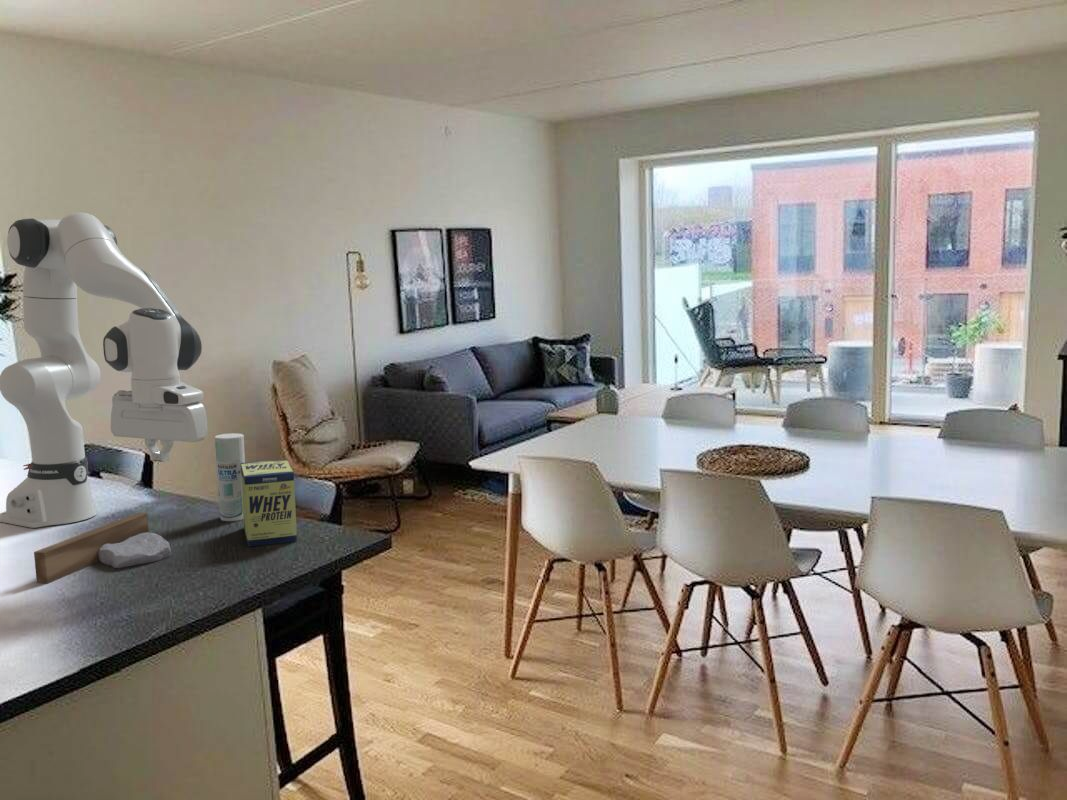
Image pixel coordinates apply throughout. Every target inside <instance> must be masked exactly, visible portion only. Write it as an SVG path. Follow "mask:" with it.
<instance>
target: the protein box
mask: <svg viewBox="0 0 1067 800" xmlns="http://www.w3.org/2000/svg"><path fill="white" fill-rule="evenodd" d="M240 465H241V483H242V502H243V518H244V519H243V528H244V535H245V539H246V543H247V544H246V545H247V547H249V548H250V547H257V546H267V545H275V544H286V543H294V542H298V540H297V538H298V537H297V536H298V535H297V534H298V533H297V532H298V531H297V518H296V517H297V513H296V512H297V511H296V495H295V494H296V492H295V472H294V471H293V468H292V467H291V465H290V463H289V461H288V460H287V459H275V460H262V461H248V462H246V461H245V463H241V464H240Z"/></svg>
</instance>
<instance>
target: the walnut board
mask: <svg viewBox="0 0 1067 800" xmlns="http://www.w3.org/2000/svg"><path fill="white" fill-rule="evenodd" d="M148 515H149V514H148V513H147V512H135V513H133V514H130V515H128V516H125V517H122V518H120V519H117V520H115V521H113V522H109V523H107V524H104V525H102V526H98V527H96V528H94V529H90V530H88V531H85V532H83V533H80V534H77V535H75V536H72V537H70V538H68V539H67V538H66V539H64V540H62V541H59V542H57V543H54V544H51V545H49V546H46V547H43V548H41V549H38V550H35V551H34V552H33V557H34V569H35V577H36V583H39V584H50V583H52V582H55V581H57V580H58V579H59V580H60V579H61V578H63V577H67V576H68V575H71V574H74V573H77V571H79V570H82V569H85V568H87V567H89V566H92V565H94V564H97V563H99V562H100V560H99V557H98V553H99V550H100V548H101V547H102V546H103V545H104V544H107V543H108V544H116V543H121V542H123V541H125V540H127V539H128V538H130V537H133V536H136V535H138V534H141V533H150V531H149V517H148Z"/></svg>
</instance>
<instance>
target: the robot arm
mask: <svg viewBox="0 0 1067 800" xmlns="http://www.w3.org/2000/svg"><path fill="white" fill-rule="evenodd" d="M6 245H7V249H8V253H9V257H11V259H12V260H13V261H14V262H15V263H16V264H17V265H20V266H23V267H24V272H23V273H24V274H23V282H22V308H23V328H24V330H25V332H26V334H28V335H29V336H30V337H32V338H33V339H35V342H36V343H37V345H38V347H39V352H40V357H33V358H25V359H22V360H20V361H17V362H15V363H12V364H10V365H8V366H6V367H5V368H4V369H3V370H2V371H1V373H0V394H1V395H2V397H3V398H4V399H5V400H6V401H7V402H8V403H9V404H10V405H12V406H14V407H15V408H16V409H17V411H19V413H20V415H21V416H22V418H23V420H24V422H25V424H26V427H27V431H28V434H29V435H28V436H29V443H30V450H31V458H32V459H31V460H32V461H31V463H26V464H24V465H22V466H23V467H25V468H23V470H24V471H26V470H28V471H27V475H26V476H27V477H25V479H23V481H21V482H20V483H19V484H18V485H17V486H16V487H14V488H13V489H12V490H11V491H9V492H8V494H7V496H6V500H5V501H6V502H5V511H3V512H1V513H0V522H1V523H7V524H11V525H15V526H20V527H26V528H32V529H34V528H35V529H36V528H41V527H48V526H55V525H56V526H58V525H65V524H71V523H76V522H81V521H84V520H87V519H88V520H89V519H90V518H93V517H95V516H96V515H97V514H98V510H97V509H96V507H97V506H96V503H95V502H94V499H93V495H92V491H91V490H92V489H91V486H90V481H89V478H88V472H89V462H88V457H87V456H86V453H85V439H84V430H83V429H84V428H83V426H82V424H81V423H80V422H79V421H78V420H76V419H74V418H72V417H71V415H70V413H69V412H68V411H69V410H68V409H67V405H66V401H70V400H73V399H74V400H75V399H80V398H82V397H83V396H86V395H88V394H90V393H92V392H93V391H95V390H96V389H97V388H98V386H99V384H100V383H101V379H102V378H101V375H102V374H101V370H100V367H99V365H98V363H97V362H96V361H95V360H94V359H93V358H92V357H91V356H90V355H89V353H87V350H86V348H85V346H84V344H83V341H82V339H81V333H80V329H79V313H78V312H79V311H78V309H79V308H78V307H79V306H78V288H79V289H81V290H82V291H84V292H85V293H88V294H89V295H91V296H95V297H99V298H105V299H112V300H116V301H120V302H125V303H129V304H131V305H134V306H137V307H138V308H137V309H135V310H132V311H131V312H130V314H129V318H128V320H127V321H124V323H121V324H119V325H116V326H112V328H111V329H109V330H108V332H106V334H105V336H104V337H103V340H102V341H103V343H102V345H103V347H102V348H103V357H104V360H105V362H106V363H107V364H108V366H110V367H111V368H112V369H114V370H116V371H117V372H121V373H122V372H123V373H131V374H130V375H131V376H130V381H131V382H130V388H131V390H122V389H121V390H118V391H117V392H115V393H114V394H113V396H112V397H111V400H112V401H111V402H112V407H111V413H110V432H111V434H112V435H113V437H117V438H129V439H130V438H131V439H144V445H145V447H146V448H147V450H148V452H149V453H150V461H152V462H161V463H166V462H169V461H170V452H171V449H172V448H173V446H174V443H175V442H185V443H186V442H188V443H196V442H201V441H204V440H205V439H206V437H207V436H208V418H207V412H206V408H205V406H204V405H203V403H202V401H204V398H205V397H204V395H205V394H204V391H202V390H201V389H199V388H196V387H195V386H192V385H189V384H187V383H185V382H184V381H181V375H180V374H181V373H180V371H188V370H189V369H190V368H192V366H193V365H194V364H196V362H197V361H198V360H199V358H200V357H201V355H202V347H203V346H202V341H201V337H200V334H199V333H198V332H197V330H196V329H195V328H194V326H192V325H191V324H190V323H189V322H188V321H186V320H185V319H184V318H183V317H182V315H181V314H180V312H179V311H178V309H177V308H176V307H175V306H174V305H173V303H172V302H171V300H170V299H169V298H168V297H167V295H166V293H164V291H163V290H162V288H161V287H160V286H159V284H158V283H157V282H156V281H155V279H154V278H153V277H152V276H151V275H150V274H149V273H148V272H146V271H145V270H143V269H141V268H140V267H138V266H136V265H135V264H134V263H132V262H131V261H130V260H129V259H128V258H127V257H126V256H125V255H124V254H123V253H122V252H121V250H120V248H119V247H118V241H117V236H116V233H115V232H114V230H112V228H110V227H109V226H107V225H105V224H103V222H101V221H100V220H99V218H97V216H95V215H92V214H91V213H87V212H81V211H79V212H74V213H70V214H68V215H66V216H64V217H63V218H62V219H54V218H50V219H48V218H47V219H46V218H45V219H35V218H32V217H31V218H22V219H18V220H15V221H14V222H13V223H12V224H11V225H10V227H9V229H8V232H7V237H6ZM159 441H160V446H162V448H161V450H160V449H159V447H158V445H157V443H159Z"/></svg>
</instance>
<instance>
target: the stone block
mask: <svg viewBox="0 0 1067 800" xmlns="http://www.w3.org/2000/svg"><path fill="white" fill-rule="evenodd" d="M170 556H172V550H171V547H170V542H169V541H168V540H166V539H165V538H164V537H162V536H161V535H159V534H157V533H155V532H149V533H141V534H138V535H136V536H133V537H130V538H128V539H127V540H125V541H123V542H121V543H116V544H108V543H107V544H104V545H103V546H102V547H101V548H100V550H99V553H98V557H99V560H100V561H99V562H100V563H102V564H104V565H107V566H111V567H112V568H115V569H121V568H126V567H132V566H136V565H143V564H147V563H152V562H159V561H161V560H164V559H166V558H169V557H170Z"/></svg>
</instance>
